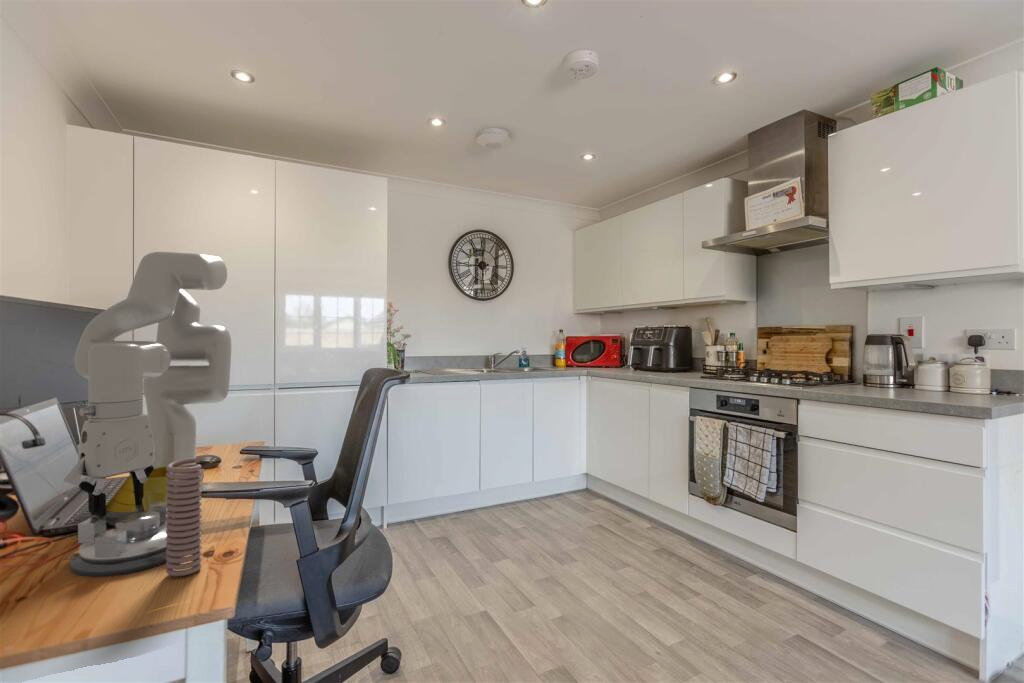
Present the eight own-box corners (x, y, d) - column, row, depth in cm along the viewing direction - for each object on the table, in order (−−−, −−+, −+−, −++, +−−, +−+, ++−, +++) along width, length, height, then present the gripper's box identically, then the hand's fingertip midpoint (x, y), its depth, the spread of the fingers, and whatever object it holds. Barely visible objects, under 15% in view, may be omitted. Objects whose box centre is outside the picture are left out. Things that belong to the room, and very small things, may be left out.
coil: (187, 580, 72) (188, 464, 72) (158, 580, 72) (158, 464, 72) (208, 565, 76) (208, 457, 76) (180, 565, 76) (180, 457, 76)
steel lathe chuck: (67, 547, 79) (67, 521, 79) (171, 519, 92) (171, 497, 92) (94, 572, 70) (94, 543, 70) (205, 537, 83) (205, 513, 83)
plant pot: (201, 516, 98) (201, 470, 98) (138, 530, 91) (138, 480, 91) (191, 504, 105) (191, 461, 105) (132, 516, 98) (132, 470, 98)
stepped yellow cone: (101, 523, 85) (119, 469, 87) (136, 526, 87) (152, 472, 89) (88, 533, 80) (107, 475, 82) (126, 535, 82) (144, 478, 84)
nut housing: (75, 550, 82) (75, 540, 82) (192, 525, 93) (192, 517, 93) (64, 589, 69) (64, 578, 69) (202, 555, 80) (202, 545, 80)
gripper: (69, 419, 75) (70, 531, 75) (178, 405, 91) (179, 497, 91) (43, 416, 77) (44, 524, 78) (154, 402, 93) (154, 492, 94)
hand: (117, 508), depth 84 cm, fingers closed on stepped yellow cone, 5 cm apart
